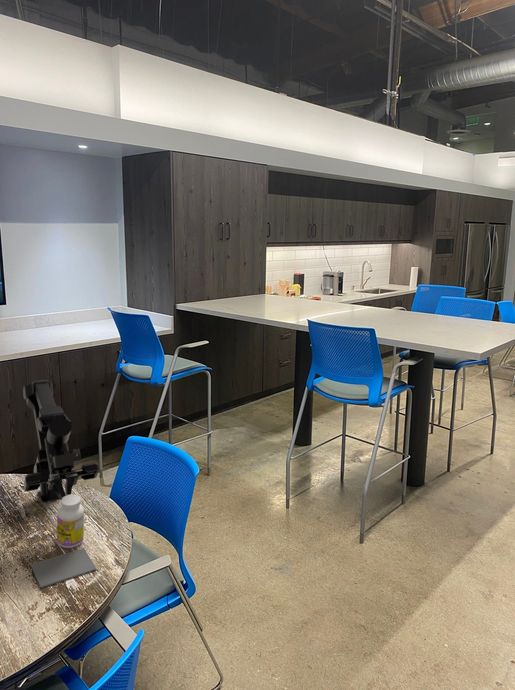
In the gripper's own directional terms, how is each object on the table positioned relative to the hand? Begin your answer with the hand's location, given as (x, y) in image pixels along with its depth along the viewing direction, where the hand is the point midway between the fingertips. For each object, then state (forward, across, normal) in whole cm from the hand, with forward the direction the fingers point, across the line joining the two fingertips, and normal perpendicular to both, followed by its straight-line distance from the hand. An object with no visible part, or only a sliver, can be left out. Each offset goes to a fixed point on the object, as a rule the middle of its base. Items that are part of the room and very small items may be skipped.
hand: (67, 506), depth 140 cm
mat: (+15, -4, -2) cm, 16 cm away
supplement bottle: (+8, 0, +5) cm, 9 cm away
